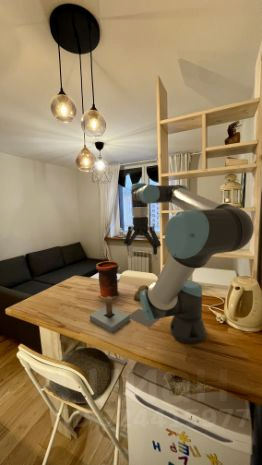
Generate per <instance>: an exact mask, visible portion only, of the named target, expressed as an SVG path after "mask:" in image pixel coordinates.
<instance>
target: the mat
mask: <svg viewBox="0 0 262 465" xmlns="http://www.w3.org/2000/svg"><path fill="white" fill-rule="evenodd" d="M129 315H130V320H132V321H134V322H137V323H139V324H141V325H143V326H145V327H147V328H150V327H152V326H153V325H154V324H155V323H156V322H157V321H159V320H160V319H156V320H147V319H146V318H145V316H144V313H143V310H142V308H138V309H136V310H135V311H133V312H131V313H129Z"/></svg>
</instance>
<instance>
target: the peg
mask: <svg viewBox="0 0 262 465" xmlns="http://www.w3.org/2000/svg"><path fill="white" fill-rule="evenodd" d="M105 306H106V314H107V318H111V317H112V316H113V312H112V307H113V298H112V297H110V296H109V297H106V299H105Z"/></svg>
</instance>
